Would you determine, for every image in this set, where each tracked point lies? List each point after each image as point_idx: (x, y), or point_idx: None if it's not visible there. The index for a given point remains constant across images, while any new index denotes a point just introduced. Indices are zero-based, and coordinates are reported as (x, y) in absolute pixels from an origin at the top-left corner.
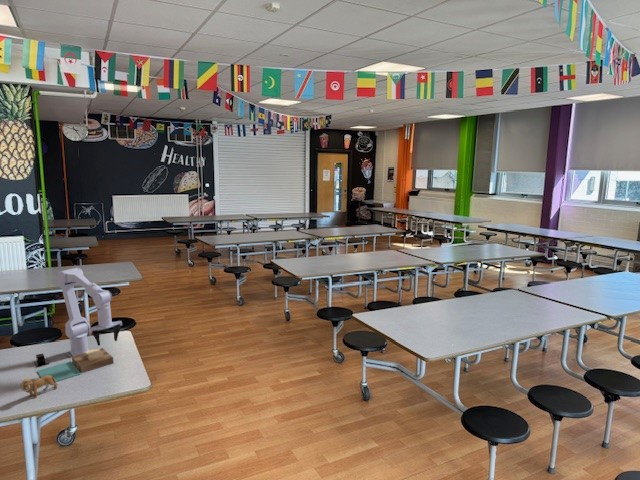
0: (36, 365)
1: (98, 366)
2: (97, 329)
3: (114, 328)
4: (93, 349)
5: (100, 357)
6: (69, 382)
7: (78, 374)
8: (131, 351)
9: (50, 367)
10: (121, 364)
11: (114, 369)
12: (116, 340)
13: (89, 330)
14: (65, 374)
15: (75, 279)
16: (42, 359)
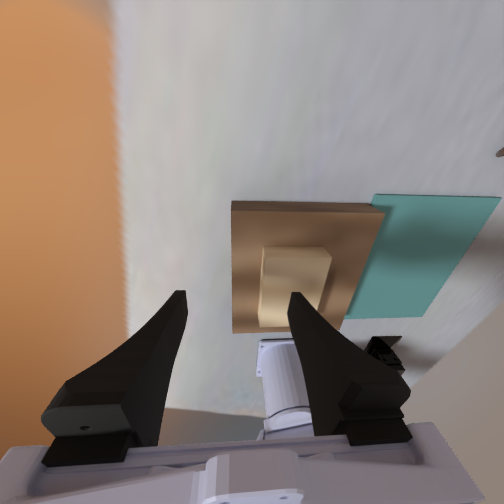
0: (394, 345)
1: (300, 204)
2: (347, 456)
3: (144, 415)
4: (279, 323)
5: (280, 248)
6: (453, 142)
7: (385, 195)
8: (132, 267)
9: (391, 314)
10: (204, 154)
11: (254, 115)
12: (177, 292)
13: (458, 469)
14: (410, 231)
15: None
16: (387, 358)
